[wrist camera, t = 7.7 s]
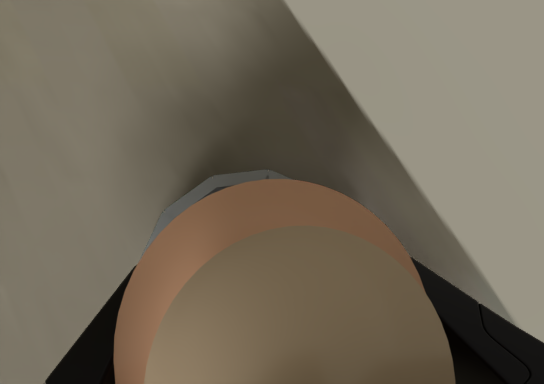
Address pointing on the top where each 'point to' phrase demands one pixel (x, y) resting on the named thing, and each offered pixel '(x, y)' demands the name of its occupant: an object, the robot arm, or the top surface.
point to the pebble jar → (278, 296)
